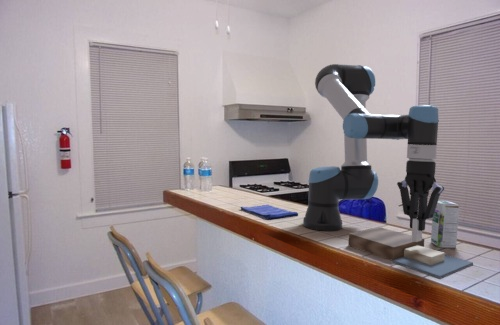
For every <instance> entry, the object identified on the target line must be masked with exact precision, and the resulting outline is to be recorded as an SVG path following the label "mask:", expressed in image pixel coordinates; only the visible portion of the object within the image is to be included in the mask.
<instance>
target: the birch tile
mask: <svg viewBox="0 0 500 325" xmlns="http://www.w3.org/2000/svg"><path fill="white" fill-rule="evenodd" d="M445 255H446V253H445V252H443V251H439V250H436V249H433V248H428V247H426V246H424V247H422V246H419V245H416V246H413V247H409V248H406V249H404V257H407V258H411V259H414V260H417V261H420V262H423V263H426V264H429V265H433V264H436V263H438V262H441V261H444V257H445Z"/></svg>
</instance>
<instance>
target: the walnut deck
mask: <svg viewBox="0 0 500 325" xmlns="http://www.w3.org/2000/svg"><path fill="white" fill-rule="evenodd" d="M416 245H419V246H422V247H425V238H424V237H422V241H418V242H415V241H412V234H408V233H404V232H400V231H396V230H392V229H388V228H383V227H380V226H378V227H373V228H368V229H365V230H359V231H355V232H349V233H348V247H350V248H355V249H358V250H360V251H363V252H366V253H369V254H372V255H374V256H377V257H381V258H384V259H386V260H389V261H392V262H393V260H395V259H398V258H401V257H404V249H406V248H409V247H413V246H416Z"/></svg>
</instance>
